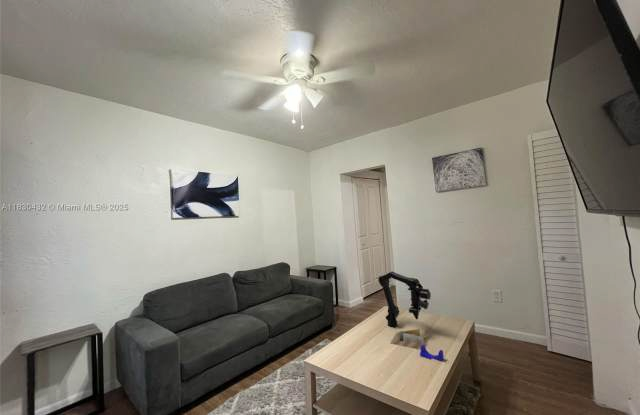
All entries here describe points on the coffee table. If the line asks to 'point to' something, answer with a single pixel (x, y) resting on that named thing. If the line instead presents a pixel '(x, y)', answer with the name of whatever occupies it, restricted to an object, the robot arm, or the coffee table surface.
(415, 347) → the hinge board
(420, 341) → the steel leaf
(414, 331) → the block
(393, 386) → the coffee table surface
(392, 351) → the coffee table surface
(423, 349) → the cable clip
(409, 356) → the coffee table surface
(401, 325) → the coffee table surface
